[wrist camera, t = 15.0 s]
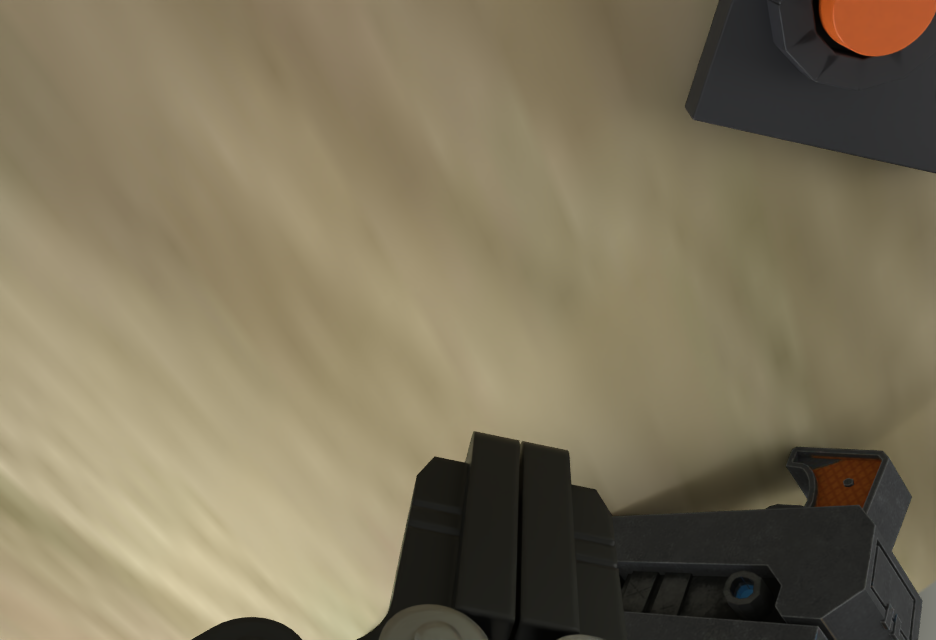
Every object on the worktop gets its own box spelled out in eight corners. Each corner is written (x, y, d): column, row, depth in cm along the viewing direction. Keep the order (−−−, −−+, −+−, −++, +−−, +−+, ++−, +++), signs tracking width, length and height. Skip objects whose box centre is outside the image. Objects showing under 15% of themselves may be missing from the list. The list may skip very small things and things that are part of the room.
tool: (946, 499, 42) (903, 792, 33) (636, 508, 56) (545, 717, 46) (898, 414, 40) (838, 703, 31) (588, 446, 53) (483, 651, 44)
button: (893, 57, 32) (912, 66, 30) (802, 36, 31) (816, 44, 30) (937, -44, 30) (959, -40, 28) (841, -66, 30) (858, -63, 28)
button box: (944, 165, 37) (988, 195, 33) (683, 107, 37) (699, 131, 33) (1054, -58, 33) (1117, -51, 29) (759, -126, 32) (787, -127, 29)
